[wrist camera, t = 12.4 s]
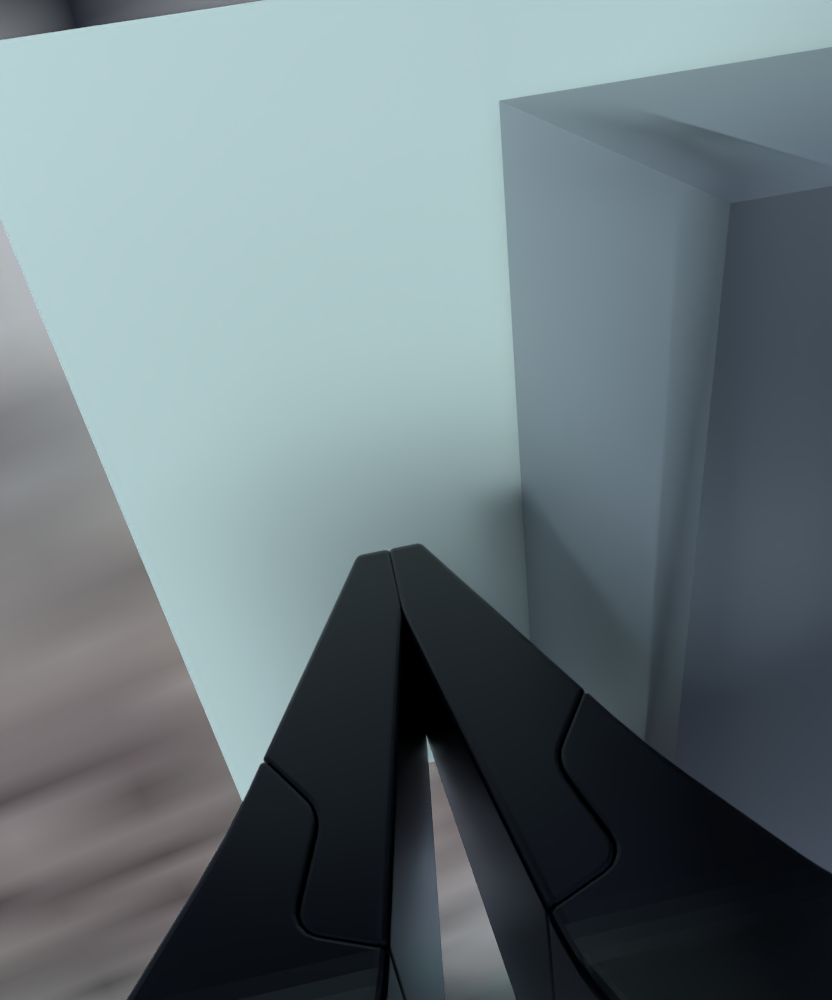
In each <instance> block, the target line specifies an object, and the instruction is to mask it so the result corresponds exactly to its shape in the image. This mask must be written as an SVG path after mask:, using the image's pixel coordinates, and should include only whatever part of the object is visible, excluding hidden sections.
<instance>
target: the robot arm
mask: <svg viewBox="0 0 832 1000" xmlns="http://www.w3.org/2000/svg"><path fill="white" fill-rule="evenodd" d="M426 736H427V738H426ZM427 739H428V742H429V745H430V748H431V751H432V754H433V757H434V760H435V763H436V766H437V769H438V772H439V775H440V778H441V780H442V783H443V786H444V789H445V792H446V795H447V798H448V801H449V804H450V807H451V810H452V813H453V816H454V818H455V821H456V824H457V827H458V830H459V833H460V836H461V839H462V842H463V845H464V848H465V851H466V854H467V856H468V859H469V862H470V865H471V868H472V871H473V874H474V877H475V880H476V883H477V886H478V889H479V892H480V894H481V897H482V900H483V903H484V906H485V909H486V912H487V915H488V918H489V921H490V924H491V927H492V930H493V932H494V935H495V938H496V941H497V944H498V947H499V950H500V953H501V956H502V959H503V962H504V965H505V968H506V970H507V973H508V976H509V979H510V982H511V985H512V988H513V991H514V994H515V997H516V1000H832V873H831V872H829V871H827V870H825V869H824V868H822V867H820V866H818V865H817V864H815V863H814V862H812V861H811V860H809V859H808V858H806V857H805V856H803V855H802V854H800V853H799V852H797V851H796V850H795V849H793V848H792V847H790V846H789V845H788V844H786V843H785V842H783V841H782V840H780V839H779V838H778V837H776V836H775V835H773V834H772V833H771V832H769V831H768V830H766V829H765V828H763V827H762V826H761V825H759V824H758V823H756V822H755V821H754V820H752V819H751V818H749V817H748V816H746V815H745V814H744V813H742V812H741V811H739V810H738V809H737V808H735V807H734V806H732V805H731V804H729V803H728V802H727V801H725V800H724V799H722V798H721V797H720V796H718V795H717V794H715V793H714V792H712V791H711V790H710V789H708V788H707V787H705V786H704V785H703V784H701V783H700V782H698V781H697V780H695V779H694V778H693V777H691V776H690V775H688V774H687V773H686V772H684V771H683V770H682V769H680V768H679V767H678V766H676V765H675V764H674V763H672V762H671V761H670V760H668V759H667V758H665V757H664V756H663V755H661V754H660V753H659V752H657V751H656V750H655V749H653V748H652V747H651V746H649V745H648V744H647V743H645V742H644V741H643V740H642V739H641V738H639V737H638V736H637V735H636V734H635V733H634V732H632V731H631V730H630V729H629V728H628V727H626V726H625V725H624V724H623V723H622V722H620V721H619V720H618V719H617V718H616V717H614V716H613V715H612V714H611V713H610V712H609V711H608V710H607V709H605V708H604V707H603V706H602V705H601V704H600V703H599V702H598V701H597V700H596V699H594V698H593V697H592V696H591V695H590V694H588V693H585V692H584V689H583V688H582V687H581V686H580V685H578V684H577V683H576V682H575V681H574V680H573V679H572V678H571V677H570V676H568V675H567V674H566V673H565V672H564V671H563V670H562V669H561V668H560V667H558V666H557V665H556V664H555V663H554V662H553V661H552V660H551V659H550V658H548V657H547V656H546V655H545V654H544V653H543V652H542V651H541V650H540V649H538V648H537V647H536V646H535V645H534V644H533V643H532V642H531V641H530V640H528V639H527V638H526V637H525V636H524V635H523V634H522V633H521V632H519V631H518V630H517V629H516V628H515V627H514V626H513V625H512V624H511V623H509V622H508V621H507V620H506V619H505V618H504V617H503V616H502V615H501V614H499V613H498V612H497V611H496V610H495V609H494V608H493V607H492V606H491V605H489V604H488V603H487V602H486V601H485V600H484V599H483V598H482V597H481V596H479V595H478V594H477V593H476V592H475V591H474V590H473V589H472V588H471V587H469V586H468V585H467V584H466V583H465V582H464V581H463V580H462V579H460V578H459V577H458V576H457V575H456V574H455V573H454V572H453V571H452V570H450V569H449V568H448V567H447V566H446V565H445V564H444V563H443V562H442V561H440V560H439V559H438V558H437V557H436V556H435V555H434V554H433V553H432V552H430V551H429V550H428V549H427V548H426V547H425V546H424V545H422V544H419V543H416V544H411V545H406V546H401V547H396V548H393V549H391V550H390V551H388V550H382V551H377V552H372V553H367V554H362V555H359V556H358V557H357V558H356V559H355V561H354V564H353V566H352V568H351V570H350V572H349V574H348V577H347V579H346V581H345V583H344V585H343V587H342V589H341V592H340V594H339V596H338V598H337V600H336V602H335V605H334V607H333V609H332V611H331V613H330V615H329V618H328V620H327V622H326V624H325V626H324V628H323V631H322V633H321V635H320V637H319V639H318V641H317V643H316V646H315V648H314V650H313V652H312V654H311V656H310V659H309V661H308V663H307V665H306V667H305V669H304V672H303V674H302V676H301V678H300V680H299V682H298V685H297V687H296V689H295V691H294V693H293V695H292V698H291V700H290V702H289V704H288V706H287V708H286V710H285V713H284V715H283V717H282V719H281V721H280V723H279V726H278V728H277V730H276V732H275V734H274V736H273V739H272V741H271V743H270V745H269V747H268V749H267V752H266V754H265V756H264V763H261V764H260V766H259V768H258V770H257V772H256V775H255V777H254V779H253V781H252V783H251V785H250V788H249V790H248V792H247V794H246V796H245V798H244V800H243V802H242V804H241V806H240V808H239V810H238V812H237V814H236V816H235V818H234V820H233V822H232V824H231V826H230V828H229V830H228V832H227V834H226V836H225V838H224V839H223V841H222V843H221V844H220V846H219V848H218V850H217V851H216V853H215V855H214V857H213V858H212V860H211V862H210V863H209V865H208V867H207V869H206V870H205V872H204V874H203V875H202V877H201V879H200V881H199V882H198V884H197V886H196V887H195V889H194V891H193V892H192V894H191V896H190V897H189V899H188V900H187V902H186V904H185V905H184V907H183V909H182V910H181V912H180V914H179V915H178V917H177V918H176V920H175V922H174V923H173V925H172V927H171V928H170V930H169V932H168V933H167V935H166V936H165V938H164V940H163V941H162V943H161V945H160V946H159V948H158V949H157V951H156V953H155V954H154V956H153V958H152V959H151V961H150V963H149V964H148V966H147V967H146V969H145V971H144V972H143V974H142V976H141V977H140V979H139V981H138V982H137V984H136V985H135V987H134V989H133V990H132V992H131V994H130V995H129V997H128V999H127V1000H445V992H444V978H443V964H442V950H441V935H440V921H439V907H438V892H437V878H436V864H435V850H434V835H433V821H432V807H431V792H430V778H429V764H428V750H427Z"/></svg>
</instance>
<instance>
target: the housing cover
mask: <svg viewBox="0 0 832 1000" xmlns="http://www.w3.org/2000/svg"><path fill="white" fill-rule="evenodd" d="M499 108H500V125H501V142H502V160H503V177H504V195H505V212H506V229H507V247H508V264H509V281H510V299H511V316H512V334H513V351H514V368H515V386H516V403H517V420H518V438H519V455H520V472H521V490H522V507H523V525H524V542H525V559H526V577H527V594H528V611H529V629H530V641H531V642H532V643H533V644H534V645H535V646H536V647H537V648H538V649H540V650H541V651H542V652H543V653H544V654H545V655H546V656H547V657H548V658H550V659H551V660H552V661H553V662H554V663H555V664H556V665H557V666H558V667H560V668H561V669H562V670H563V671H564V672H565V673H566V674H567V675H568V676H570V677H571V678H572V679H573V680H574V681H575V682H576V683H577V684H578V685H580V686H581V687H582V688H583V689H584V692H585V693H588V694H590V695H591V696H592V697H593V698H594V699H596V700H597V701H598V702H599V703H600V704H601V705H602V706H603V707H604V708H605V709H607V710H608V711H609V712H610V713H611V714H612V715H613V716H614V717H616V718H617V719H618V720H619V721H620V722H622V723H623V724H624V725H625V726H626V727H628V728H629V729H630V730H631V731H632V732H634V733H635V734H636V735H637V736H638V737H639V738H641V739H642V740H643V741H644V742H645V743H647V744H648V745H649V746H651V747H652V748H653V749H655V750H656V751H657V752H659V753H660V754H661V755H663V756H664V757H665V758H667V759H668V760H670V761H671V762H672V763H674V764H675V765H676V766H678V767H679V768H680V769H682V770H683V771H684V772H686V773H687V774H688V775H690V776H691V777H693V778H694V779H695V780H697V781H698V782H700V783H701V784H703V785H704V786H705V787H707V788H708V789H710V790H711V791H712V792H714V793H715V794H717V795H718V796H720V797H721V798H722V799H724V800H725V801H727V802H728V803H729V804H731V805H732V806H734V807H735V808H737V809H738V810H739V811H741V812H742V813H744V814H745V815H746V816H748V817H749V818H751V819H752V820H754V821H755V822H756V823H758V824H759V825H761V826H762V827H763V828H765V829H766V830H768V831H769V832H771V833H772V834H773V835H775V836H776V837H778V838H779V839H780V840H782V841H783V842H785V843H786V844H788V845H789V846H790V847H792V848H793V849H795V850H796V851H797V852H799V853H800V854H802V855H803V856H805V857H806V858H808V859H809V860H811V861H812V862H814V863H815V864H817V865H818V866H820V867H822V868H824V869H825V870H827V871H829V872H831V873H832V47H829V48H823V49H817V50H811V51H804V52H798V53H792V54H786V55H779V56H773V57H767V58H761V59H755V60H748V61H742V62H736V63H730V64H724V65H717V66H711V67H705V68H699V69H693V70H686V71H680V72H674V73H668V74H661V75H655V76H649V77H643V78H637V79H630V80H624V81H618V82H612V83H606V84H599V85H593V86H587V87H581V88H575V89H568V90H562V91H556V92H550V93H543V94H537V95H531V96H525V97H519V98H512V99H506V100H500V101H499Z"/></svg>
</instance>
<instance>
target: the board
mask: <svg viewBox="0 0 832 1000" xmlns="http://www.w3.org/2000/svg"><path fill="white" fill-rule="evenodd" d="M829 47H832V0H264V1H257V2H250V3H244V4H237V5H231V6H224V7H217V8H211V9H204V10H198V11H191V12H184V13H178V14H171V15H164V16H158V17H151V18H145V19H138V20H131V21H125V22H118V23H111V24H105V25H98V26H92V27H85V28H78V29H72V30H65V31H58V32H52V33H45V34H39V35H32V36H25V37H19V38H12V39H5V40H0V219H1V222H2V224H3V226H4V229H5V231H6V234H7V236H8V238H9V241H10V243H11V246H12V248H13V251H14V253H15V255H16V258H17V260H18V263H19V265H20V267H21V270H22V272H23V275H24V277H25V279H26V282H27V284H28V287H29V289H30V291H31V294H32V296H33V299H34V301H35V303H36V306H37V308H38V311H39V313H40V316H41V318H42V320H43V323H44V325H45V328H46V330H47V332H48V335H49V337H50V340H51V342H52V344H53V347H54V349H55V352H56V354H57V356H58V359H59V361H60V364H61V366H62V368H63V371H64V373H65V376H66V378H67V381H68V383H69V385H70V388H71V390H72V393H73V395H74V397H75V400H76V402H77V405H78V407H79V409H80V412H81V414H82V417H83V419H84V421H85V424H86V426H87V429H88V431H89V433H90V436H91V438H92V441H93V443H94V446H95V448H96V450H97V453H98V455H99V458H100V460H101V462H102V465H103V467H104V470H105V472H106V474H107V477H108V479H109V482H110V484H111V486H112V489H113V491H114V494H115V496H116V498H117V501H118V503H119V506H120V508H121V510H122V513H123V515H124V518H125V520H126V523H127V525H128V527H129V530H130V532H131V535H132V537H133V539H134V542H135V544H136V547H137V549H138V551H139V554H140V556H141V559H142V561H143V563H144V566H145V568H146V571H147V573H148V575H149V578H150V580H151V583H152V585H153V588H154V590H155V592H156V595H157V597H158V600H159V602H160V604H161V607H162V609H163V612H164V614H165V616H166V619H167V621H168V624H169V626H170V628H171V631H172V633H173V636H174V638H175V640H176V643H177V645H178V648H179V650H180V653H181V655H182V657H183V660H184V662H185V665H186V667H187V669H188V672H189V674H190V677H191V679H192V681H193V684H194V686H195V689H196V691H197V693H198V696H199V698H200V701H201V703H202V705H203V708H204V710H205V713H206V715H207V718H208V720H209V722H210V725H211V727H212V730H213V732H214V734H215V737H216V739H217V742H218V744H219V746H220V749H221V751H222V754H223V756H224V758H225V761H226V763H227V766H228V768H229V770H230V773H231V775H232V778H233V780H234V783H235V785H236V787H237V790H238V792H239V795H240V797H241V799H242V802H243V800H244V798H245V796H246V794H247V792H248V790H249V788H250V785H251V783H252V781H253V779H254V777H255V775H256V772H257V770H258V768H259V766H260V764H261V763H264V756H265V754H266V752H267V749H268V747H269V745H270V743H271V741H272V739H273V736H274V734H275V732H276V730H277V728H278V726H279V723H280V721H281V719H282V717H283V715H284V713H285V710H286V708H287V706H288V704H289V702H290V700H291V698H292V695H293V693H294V691H295V689H296V687H297V685H298V682H299V680H300V678H301V676H302V674H303V672H304V669H305V667H306V665H307V663H308V661H309V659H310V656H311V654H312V652H313V650H314V648H315V646H316V643H317V641H318V639H319V637H320V635H321V633H322V631H323V628H324V626H325V624H326V622H327V620H328V618H329V615H330V613H331V611H332V609H333V607H334V605H335V602H336V600H337V598H338V596H339V594H340V592H341V589H342V587H343V585H344V583H345V581H346V579H347V577H348V574H349V572H350V570H351V568H352V566H353V564H354V561H355V559H356V558H357V557H358V556H359V555H362V554H367V553H372V552H377V551H382V550H388V551H390V550H391V549H393V548H396V547H401V546H406V545H411V544H416V543H419V544H422V545H424V546H425V547H426V548H427V549H428V550H429V551H430V552H432V553H433V554H434V555H435V556H436V557H437V558H438V559H439V560H440V561H442V562H443V563H444V564H445V565H446V566H447V567H448V568H449V569H450V570H452V571H453V572H454V573H455V574H456V575H457V576H458V577H459V578H460V579H462V580H463V581H464V582H465V583H466V584H467V585H468V586H469V587H471V588H472V589H473V590H474V591H475V592H476V593H477V594H478V595H479V596H481V597H482V598H483V599H484V600H485V601H486V602H487V603H488V604H489V605H491V606H492V607H493V608H494V609H495V610H496V611H497V612H498V613H499V614H501V615H502V616H503V617H504V618H505V619H506V620H507V621H508V622H509V623H511V624H512V625H513V626H514V627H515V628H516V629H517V630H518V631H519V632H521V633H522V634H523V635H524V636H525V637H526V638H527V639H528V640H530V629H529V611H528V594H527V577H526V559H525V542H524V525H523V507H522V490H521V472H520V455H519V438H518V420H517V403H516V386H515V368H514V351H513V334H512V316H511V299H510V281H509V264H508V247H507V229H506V212H505V195H504V177H503V160H502V142H501V125H500V108H499V101H500V100H506V99H512V98H519V97H525V96H531V95H537V94H543V93H550V92H556V91H562V90H568V89H575V88H581V87H587V86H593V85H599V84H606V83H612V82H618V81H624V80H630V79H637V78H643V77H649V76H655V75H661V74H668V73H674V72H680V71H686V70H693V69H699V68H705V67H711V66H717V65H724V64H730V63H736V62H742V61H748V60H755V59H761V58H767V57H773V56H779V55H786V54H792V53H798V52H804V51H811V50H817V49H823V48H829ZM426 738H427V736H426ZM427 750H428V763H431V762H435V760H434V757H433V754H432V751H431V748H430V745H429V742H428V739H427Z"/></svg>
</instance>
